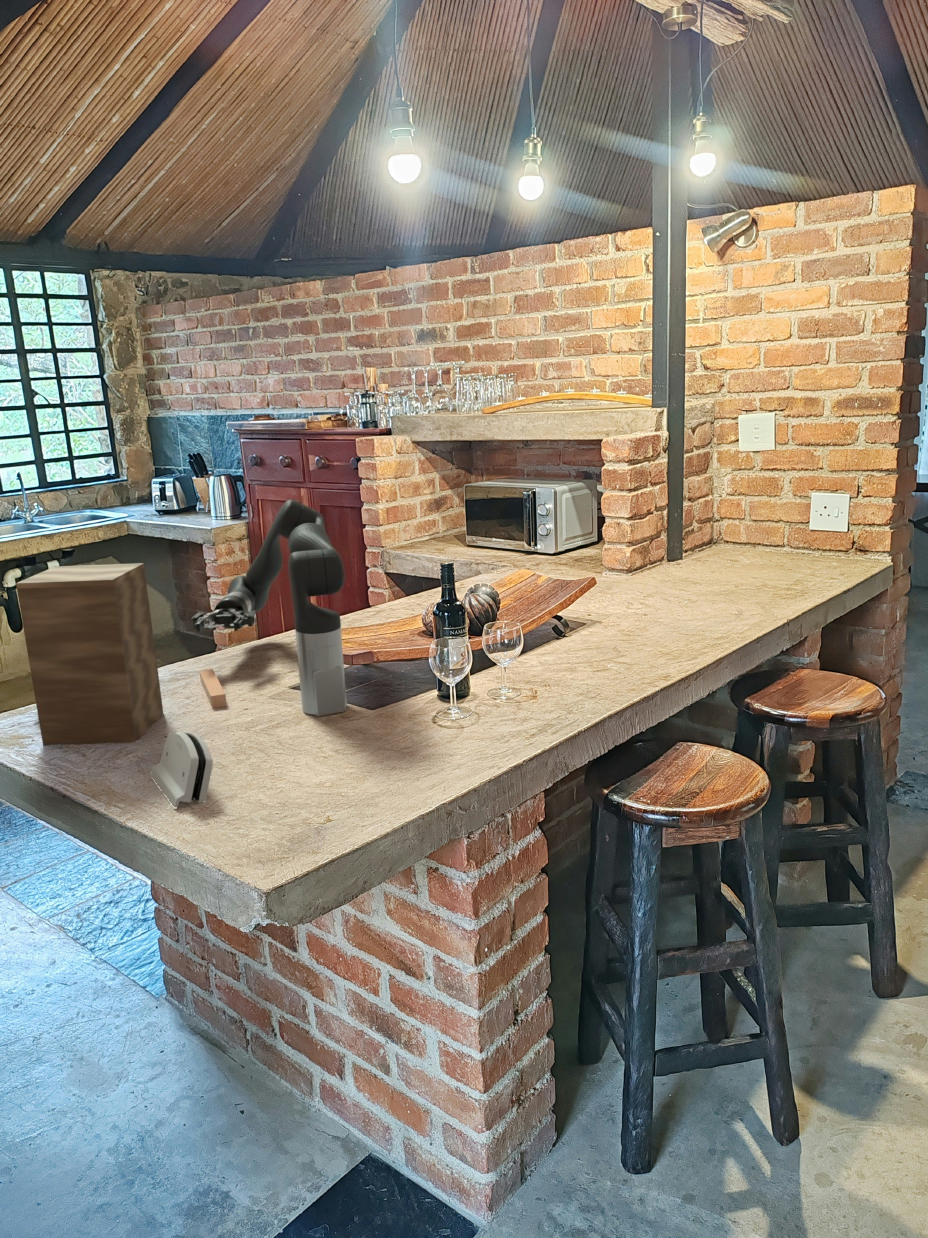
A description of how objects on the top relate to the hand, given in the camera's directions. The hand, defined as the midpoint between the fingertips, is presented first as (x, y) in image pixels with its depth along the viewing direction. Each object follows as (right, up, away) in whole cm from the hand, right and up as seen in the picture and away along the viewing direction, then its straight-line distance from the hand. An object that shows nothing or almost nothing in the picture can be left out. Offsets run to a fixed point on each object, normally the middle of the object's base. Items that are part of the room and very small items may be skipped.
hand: (217, 627), depth 209 cm
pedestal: (-15, -20, -27) cm, 37 cm away
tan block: (+1, -15, -8) cm, 17 cm away
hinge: (+10, -27, -55) cm, 62 cm away
